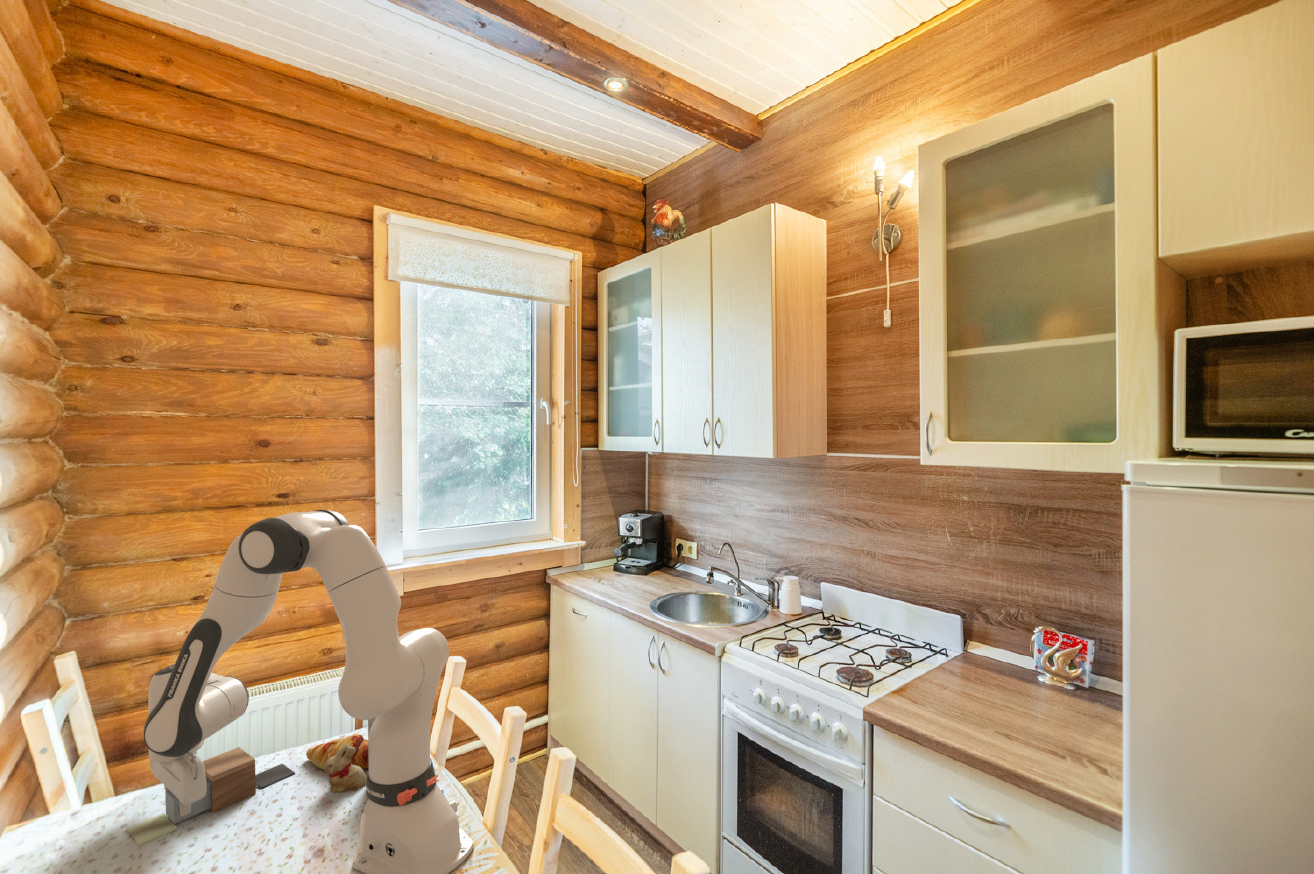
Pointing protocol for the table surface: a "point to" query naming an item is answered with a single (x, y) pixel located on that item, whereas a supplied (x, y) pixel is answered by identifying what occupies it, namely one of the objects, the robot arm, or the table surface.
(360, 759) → the croissant
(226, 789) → the tunnel
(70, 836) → the table surface
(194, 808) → the block
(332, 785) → the chocolate bunny
